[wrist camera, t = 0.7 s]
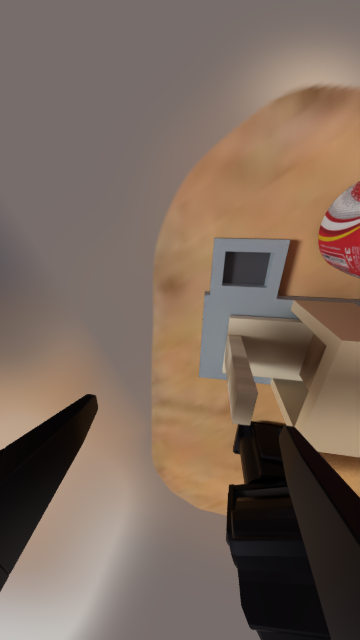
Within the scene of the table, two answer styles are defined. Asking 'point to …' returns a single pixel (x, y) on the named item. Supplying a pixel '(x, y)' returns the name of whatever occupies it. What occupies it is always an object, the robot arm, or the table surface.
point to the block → (312, 360)
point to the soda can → (342, 232)
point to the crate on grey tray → (316, 313)
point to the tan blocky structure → (261, 357)
